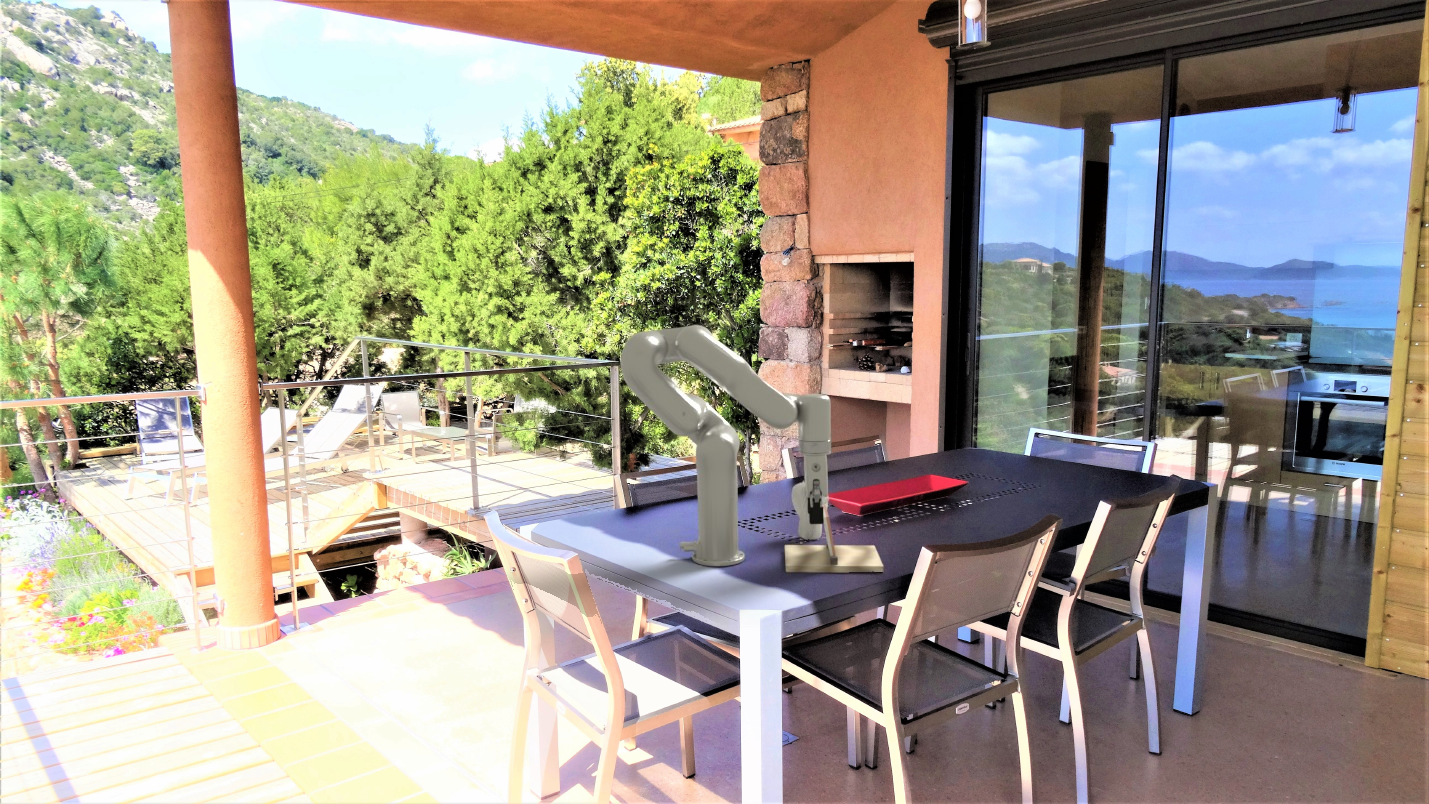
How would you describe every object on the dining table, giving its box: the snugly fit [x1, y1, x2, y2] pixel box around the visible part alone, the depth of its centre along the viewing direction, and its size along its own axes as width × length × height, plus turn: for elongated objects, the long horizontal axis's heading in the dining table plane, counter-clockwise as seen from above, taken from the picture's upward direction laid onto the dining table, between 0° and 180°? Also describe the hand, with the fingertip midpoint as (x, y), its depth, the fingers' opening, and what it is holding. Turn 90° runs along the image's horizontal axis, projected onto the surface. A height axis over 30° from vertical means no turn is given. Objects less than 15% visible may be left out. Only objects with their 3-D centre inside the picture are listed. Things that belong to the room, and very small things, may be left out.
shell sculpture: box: [790, 480, 830, 541], centre depth 224 cm, size 8×8×18 cm
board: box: [784, 539, 884, 573], centre depth 204 cm, size 22×17×3 cm
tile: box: [823, 505, 836, 556], centre depth 204 cm, size 11×12×1 cm
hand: (815, 518), depth 204 cm, fingers open, 9 cm apart
